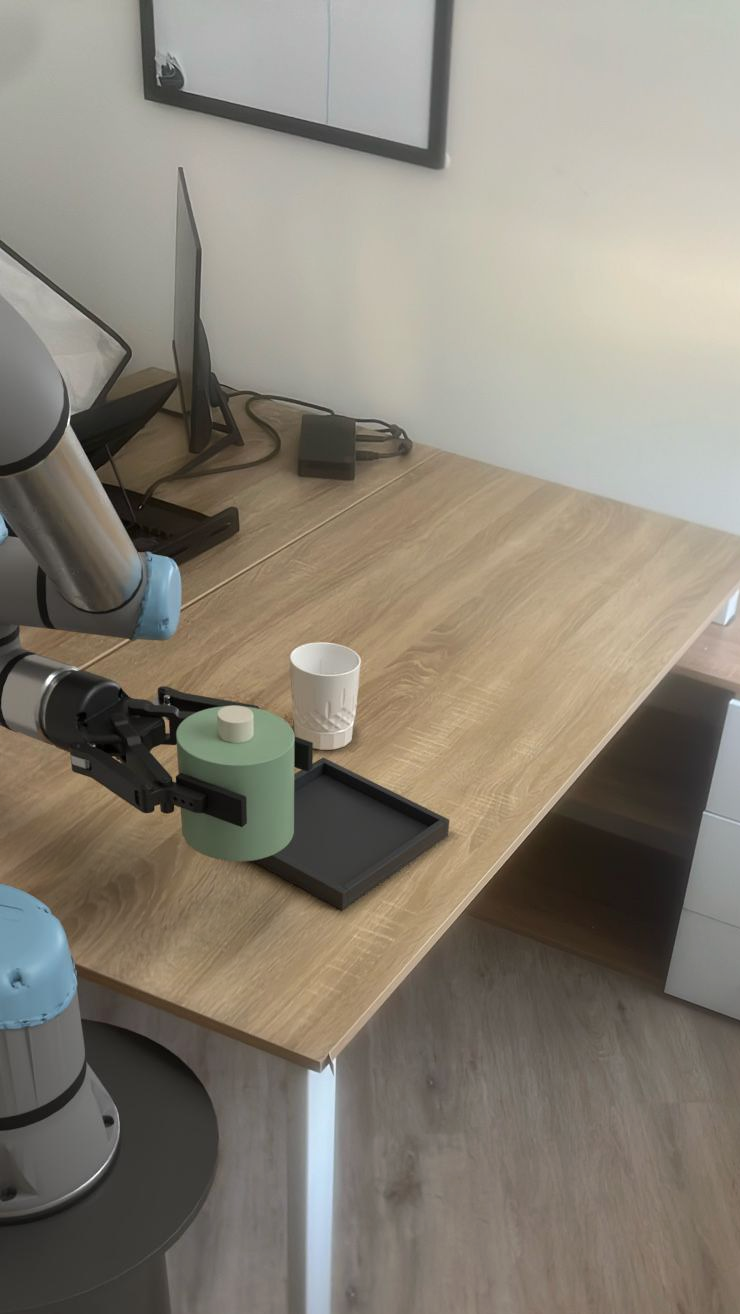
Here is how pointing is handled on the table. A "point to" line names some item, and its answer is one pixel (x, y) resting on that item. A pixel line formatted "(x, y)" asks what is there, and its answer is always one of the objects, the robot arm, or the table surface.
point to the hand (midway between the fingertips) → (278, 783)
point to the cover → (240, 779)
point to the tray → (350, 834)
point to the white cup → (324, 693)
